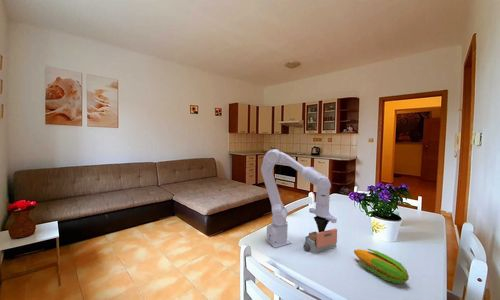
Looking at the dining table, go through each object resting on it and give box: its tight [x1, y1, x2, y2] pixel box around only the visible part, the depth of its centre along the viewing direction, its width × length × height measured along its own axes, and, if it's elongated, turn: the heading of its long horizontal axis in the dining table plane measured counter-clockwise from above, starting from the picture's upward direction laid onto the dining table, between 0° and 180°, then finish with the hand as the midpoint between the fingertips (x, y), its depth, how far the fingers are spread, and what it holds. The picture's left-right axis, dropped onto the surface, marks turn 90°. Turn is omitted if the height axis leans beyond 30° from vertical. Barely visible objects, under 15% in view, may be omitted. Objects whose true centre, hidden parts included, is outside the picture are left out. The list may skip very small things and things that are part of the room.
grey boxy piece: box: [303, 235, 337, 254], centre depth 98 cm, size 16×5×6 cm, turn 117°
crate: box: [308, 231, 318, 246], centre depth 96 cm, size 4×4×4 cm
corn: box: [353, 248, 410, 284], centre depth 81 cm, size 7×8×20 cm
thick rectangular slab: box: [316, 228, 338, 248], centre depth 95 cm, size 11×1×6 cm, turn 117°
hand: (321, 232), depth 98 cm, fingers closed
